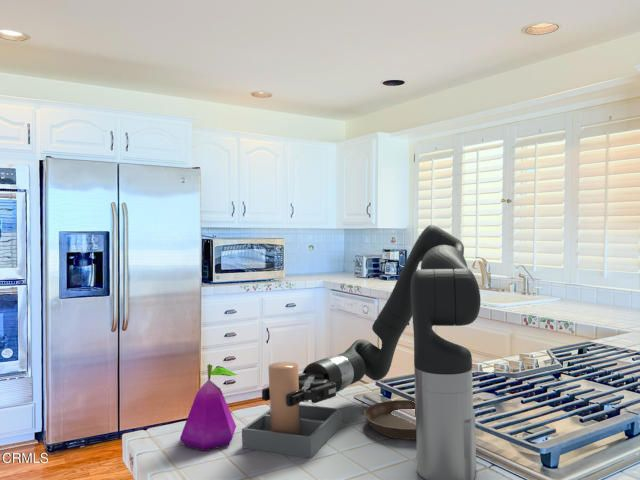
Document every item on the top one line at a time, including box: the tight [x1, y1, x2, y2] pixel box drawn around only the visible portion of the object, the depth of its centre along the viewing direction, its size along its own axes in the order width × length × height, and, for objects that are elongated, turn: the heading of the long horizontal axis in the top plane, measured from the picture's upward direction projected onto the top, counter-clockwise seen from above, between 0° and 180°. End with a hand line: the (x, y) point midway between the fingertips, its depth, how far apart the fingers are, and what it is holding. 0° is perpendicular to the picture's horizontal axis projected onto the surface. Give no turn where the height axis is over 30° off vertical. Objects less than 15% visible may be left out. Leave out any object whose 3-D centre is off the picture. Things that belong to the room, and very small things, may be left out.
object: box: [363, 399, 416, 440], centre depth 103 cm, size 18×18×3 cm
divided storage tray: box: [241, 403, 342, 459], centre depth 99 cm, size 14×16×4 cm
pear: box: [179, 363, 238, 452], centre depth 98 cm, size 11×11×15 cm
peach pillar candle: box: [268, 361, 300, 435], centre depth 96 cm, size 6×6×13 cm
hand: (275, 398), depth 94 cm, fingers closed on peach pillar candle, 5 cm apart
